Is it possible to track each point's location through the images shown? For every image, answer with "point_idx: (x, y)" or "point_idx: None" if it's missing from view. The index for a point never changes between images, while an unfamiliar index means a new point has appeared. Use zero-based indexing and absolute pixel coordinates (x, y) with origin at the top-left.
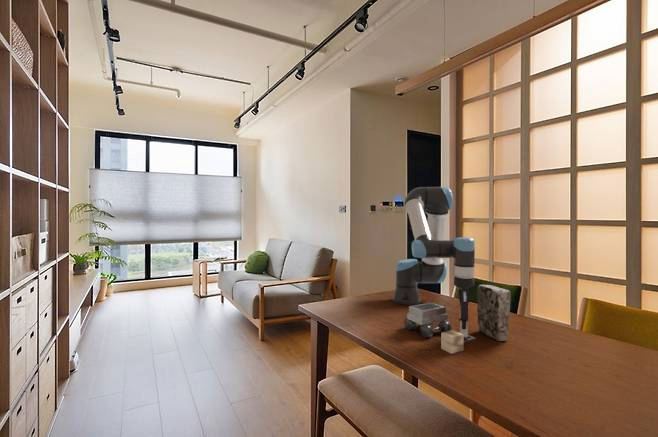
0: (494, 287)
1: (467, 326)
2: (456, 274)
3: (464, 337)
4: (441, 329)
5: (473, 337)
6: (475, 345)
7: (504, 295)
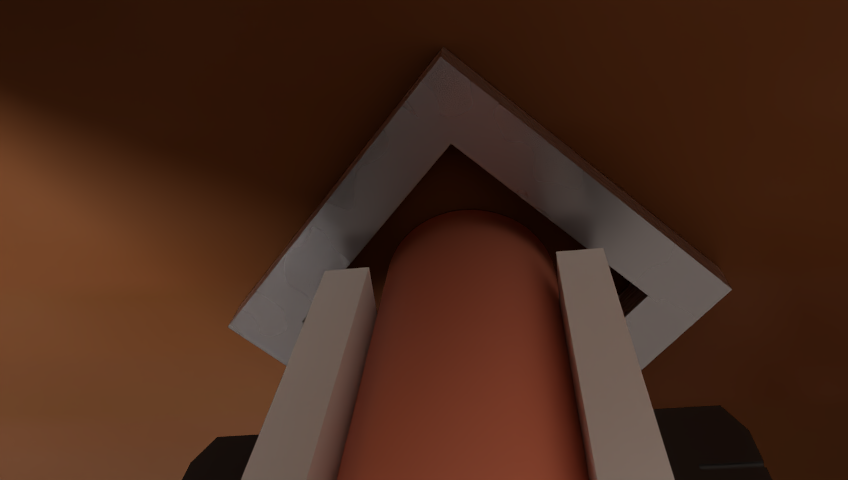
0: None
1: (653, 419)
2: None
3: None
4: None
5: (429, 108)
6: (803, 41)
7: None
